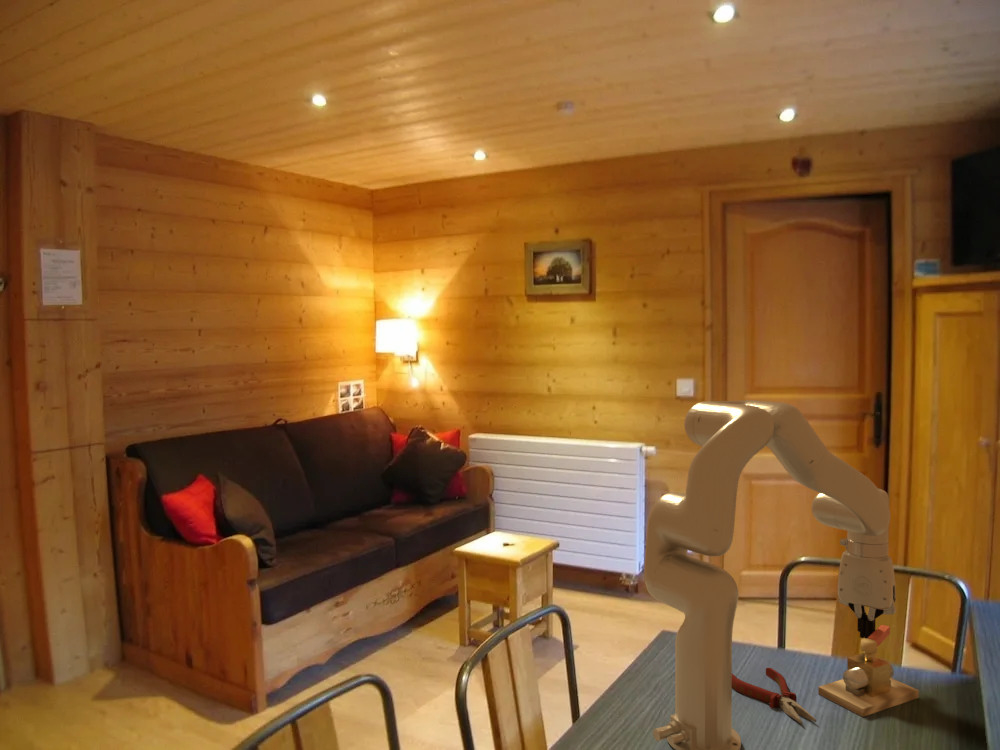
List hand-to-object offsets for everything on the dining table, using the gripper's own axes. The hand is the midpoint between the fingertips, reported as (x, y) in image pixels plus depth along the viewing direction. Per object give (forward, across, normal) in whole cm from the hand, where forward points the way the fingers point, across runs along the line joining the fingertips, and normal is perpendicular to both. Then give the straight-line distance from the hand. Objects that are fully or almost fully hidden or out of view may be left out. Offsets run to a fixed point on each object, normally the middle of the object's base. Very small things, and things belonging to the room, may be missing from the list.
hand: (866, 636), depth 152 cm
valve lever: (0, +3, -2) cm, 3 cm away
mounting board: (+9, +2, -7) cm, 12 cm away
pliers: (+10, -12, -21) cm, 26 cm away
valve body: (+7, +2, -7) cm, 11 cm away
